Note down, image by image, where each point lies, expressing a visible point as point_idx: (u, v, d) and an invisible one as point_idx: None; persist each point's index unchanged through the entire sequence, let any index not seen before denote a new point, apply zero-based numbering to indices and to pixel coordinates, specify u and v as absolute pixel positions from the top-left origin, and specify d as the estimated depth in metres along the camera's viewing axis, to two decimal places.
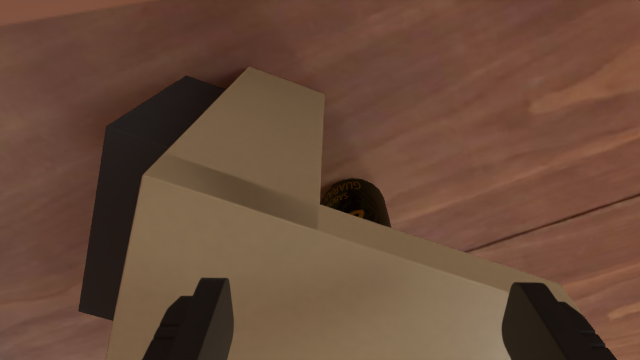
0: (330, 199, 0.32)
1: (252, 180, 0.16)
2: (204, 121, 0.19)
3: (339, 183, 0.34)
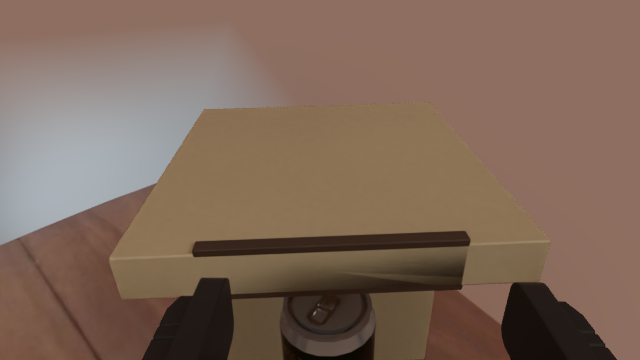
0: None
1: None
2: None
3: None
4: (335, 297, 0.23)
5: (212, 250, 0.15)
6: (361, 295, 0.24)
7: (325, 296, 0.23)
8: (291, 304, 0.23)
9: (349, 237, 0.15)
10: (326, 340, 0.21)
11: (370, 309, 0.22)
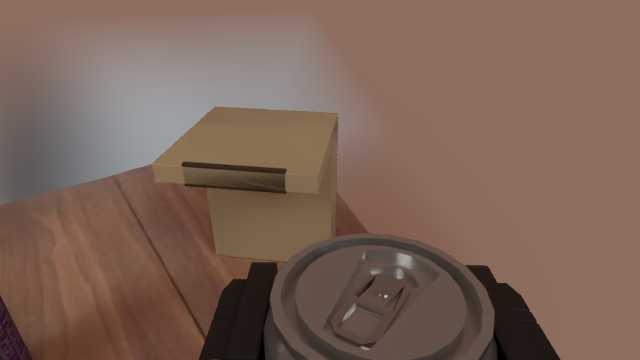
0: None
1: (334, 139, 0.50)
2: (336, 158, 0.54)
3: None
4: (397, 282, 0.10)
5: (188, 164, 0.39)
6: None
7: (373, 278, 0.10)
8: (292, 292, 0.10)
9: (240, 166, 0.39)
10: None
11: (490, 313, 0.09)
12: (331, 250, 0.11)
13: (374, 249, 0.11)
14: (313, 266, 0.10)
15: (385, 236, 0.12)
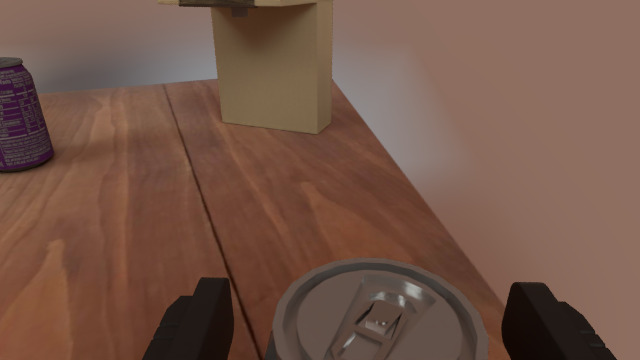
0: None
1: (324, 2, 0.55)
2: (331, 32, 0.59)
3: None
4: (394, 308, 0.10)
5: None
6: (451, 307, 0.11)
7: (371, 305, 0.10)
8: (294, 319, 0.10)
9: None
10: None
11: (485, 341, 0.09)
12: (331, 275, 0.12)
13: (372, 274, 0.11)
14: (314, 293, 0.11)
15: (383, 260, 0.12)
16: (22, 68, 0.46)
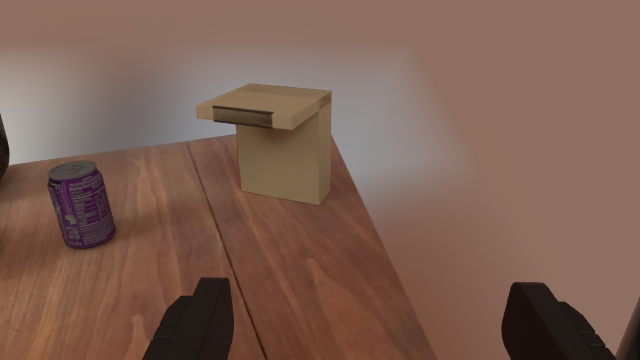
0: None
1: (324, 107, 0.70)
2: (330, 125, 0.74)
3: None
4: None
5: (216, 106, 0.62)
6: None
7: None
8: None
9: (246, 109, 0.61)
10: None
11: None
12: None
13: None
14: None
15: None
16: (96, 171, 0.61)
